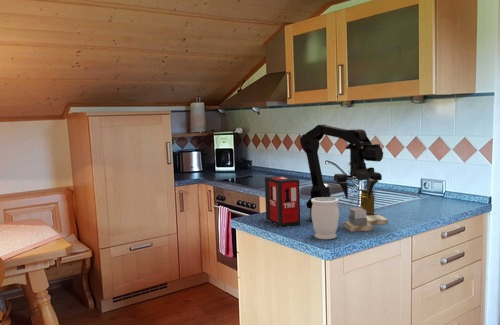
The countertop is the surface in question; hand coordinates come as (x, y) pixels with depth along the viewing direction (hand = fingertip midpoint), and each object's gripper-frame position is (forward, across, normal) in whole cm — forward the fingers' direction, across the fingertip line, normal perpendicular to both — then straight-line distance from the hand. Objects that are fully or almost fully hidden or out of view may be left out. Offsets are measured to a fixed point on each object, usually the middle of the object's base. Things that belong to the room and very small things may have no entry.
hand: (357, 197), depth 183 cm
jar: (+13, -17, -10) cm, 23 cm away
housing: (+11, 0, 0) cm, 11 cm away
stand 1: (+13, 0, 0) cm, 13 cm away
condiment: (+13, +14, +21) cm, 28 cm away
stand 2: (+13, +10, +8) cm, 18 cm away
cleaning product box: (+13, -28, +18) cm, 36 cm away
